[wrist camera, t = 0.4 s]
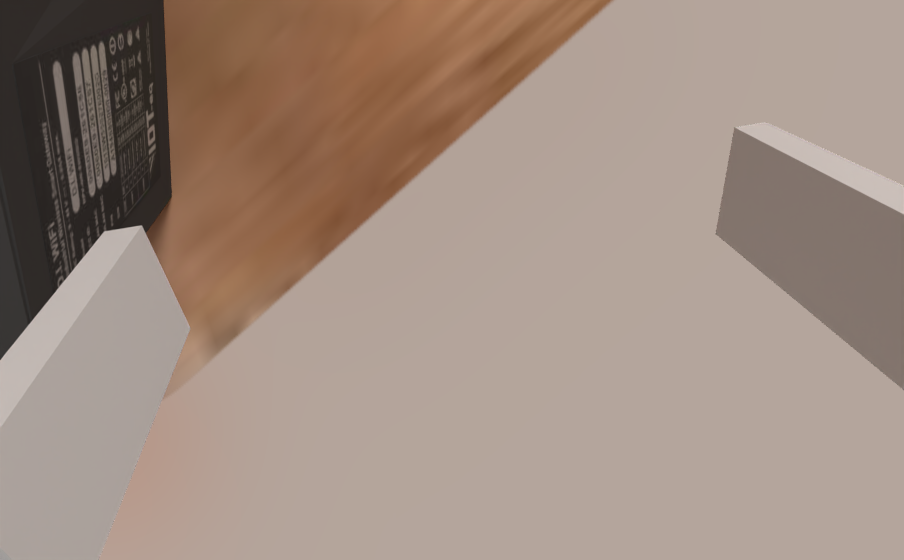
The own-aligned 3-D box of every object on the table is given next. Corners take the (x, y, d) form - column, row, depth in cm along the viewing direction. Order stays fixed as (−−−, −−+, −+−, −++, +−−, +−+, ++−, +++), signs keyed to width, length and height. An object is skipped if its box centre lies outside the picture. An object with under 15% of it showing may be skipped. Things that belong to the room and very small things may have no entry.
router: (159, -94, 29) (-96, -134, 13) (174, 214, 38) (35, 432, 21) (-16, -135, 27) (-592, -248, 11) (42, 199, 36) (-223, 425, 20)
